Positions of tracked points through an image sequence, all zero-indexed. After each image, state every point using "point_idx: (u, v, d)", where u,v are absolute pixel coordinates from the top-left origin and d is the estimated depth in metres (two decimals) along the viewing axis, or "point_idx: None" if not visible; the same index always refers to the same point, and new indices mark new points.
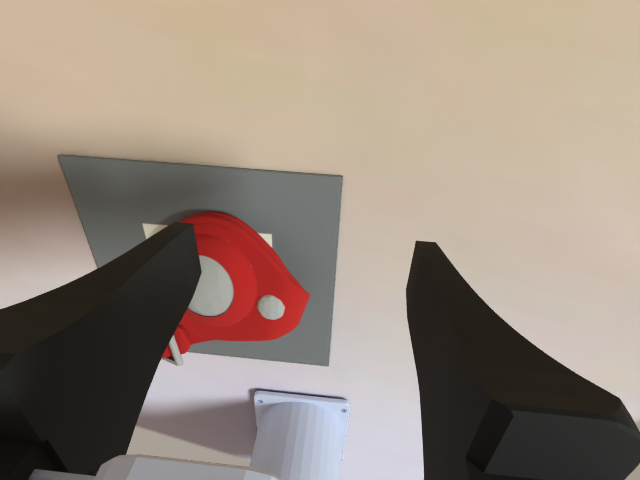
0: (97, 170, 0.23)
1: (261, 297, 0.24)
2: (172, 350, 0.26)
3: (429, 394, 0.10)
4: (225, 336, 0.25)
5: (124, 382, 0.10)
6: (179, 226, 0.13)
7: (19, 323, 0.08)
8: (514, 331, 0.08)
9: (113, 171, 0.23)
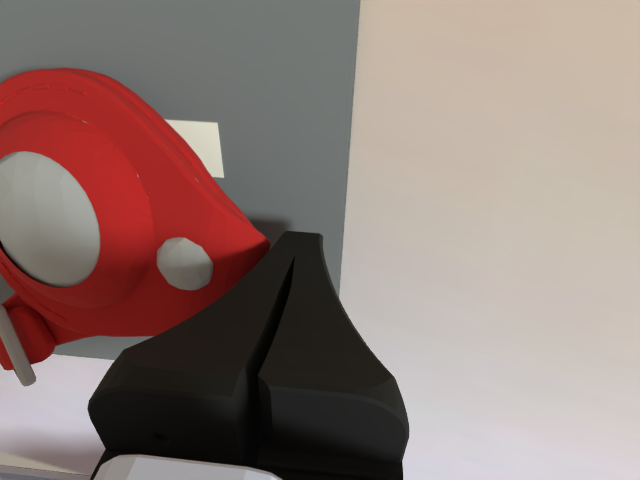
0: None
1: (163, 243, 0.11)
2: (10, 356, 0.13)
3: None
4: (107, 327, 0.13)
5: None
6: (294, 235, 0.12)
7: (207, 341, 0.07)
8: (343, 315, 0.09)
9: None
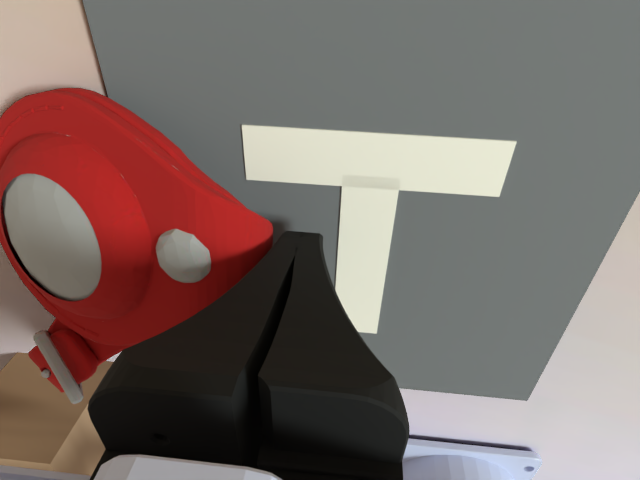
0: None
1: (158, 238, 0.11)
2: (56, 376, 0.14)
3: None
4: (132, 335, 0.13)
5: None
6: (293, 235, 0.12)
7: (207, 342, 0.07)
8: (343, 315, 0.09)
9: None
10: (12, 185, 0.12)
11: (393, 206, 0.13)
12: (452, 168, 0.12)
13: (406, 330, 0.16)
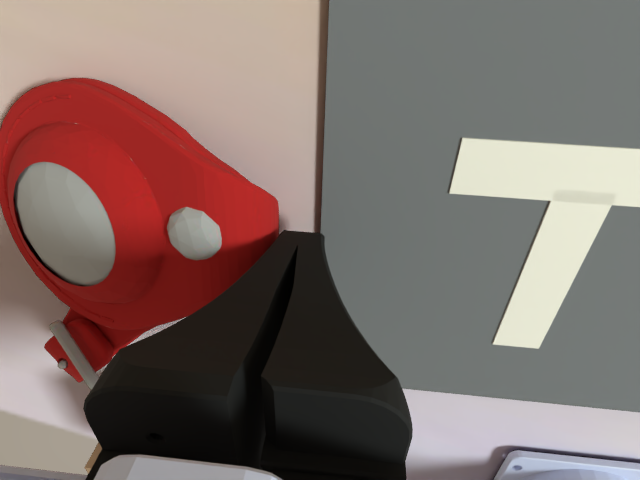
0: None
1: (169, 218, 0.12)
2: (74, 364, 0.14)
3: None
4: (147, 318, 0.13)
5: None
6: (292, 234, 0.12)
7: (203, 341, 0.07)
8: (346, 316, 0.09)
9: (455, 0, 0.10)
10: (24, 175, 0.12)
11: (599, 221, 0.13)
12: None
13: (570, 345, 0.16)
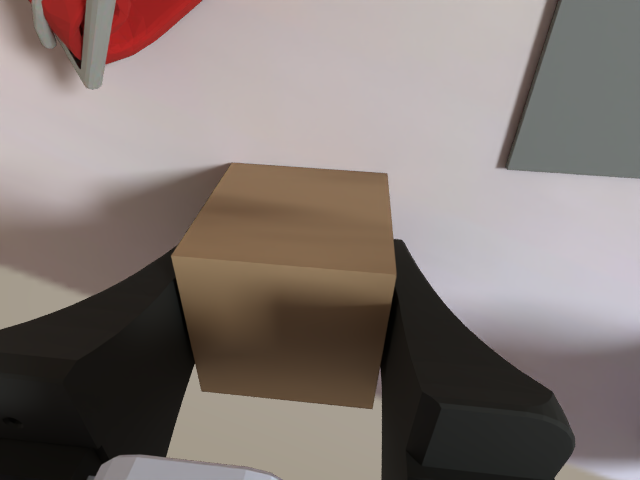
0: None
1: None
2: None
3: (387, 390, 0.10)
4: None
5: (165, 386, 0.10)
6: None
7: (72, 328, 0.08)
8: (464, 326, 0.09)
9: None
10: None
11: None
12: None
13: None
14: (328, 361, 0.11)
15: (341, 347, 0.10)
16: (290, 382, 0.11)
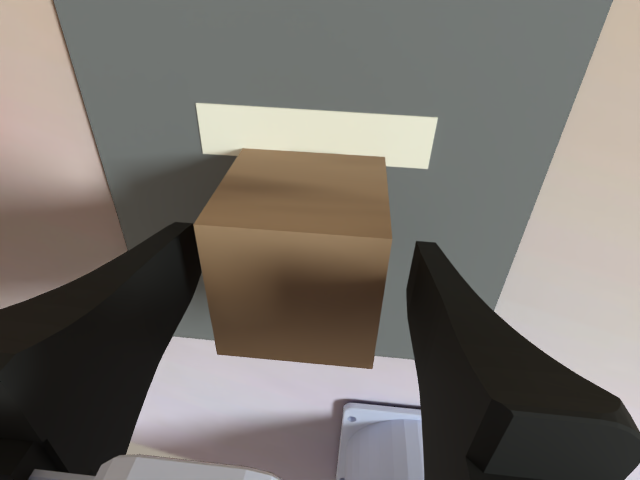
0: None
1: None
2: None
3: (429, 394, 0.10)
4: None
5: (124, 382, 0.10)
6: (179, 226, 0.13)
7: (19, 323, 0.08)
8: (514, 331, 0.08)
9: None
10: None
11: None
12: (384, 142, 0.14)
13: None
14: (332, 322, 0.12)
15: (343, 309, 0.11)
16: (298, 344, 0.13)
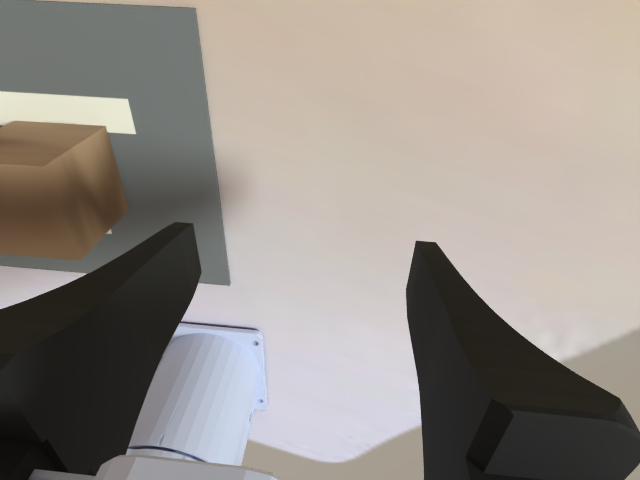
0: None
1: None
2: None
3: (429, 394, 0.10)
4: None
5: (124, 382, 0.10)
6: (179, 226, 0.13)
7: (19, 323, 0.08)
8: (514, 331, 0.08)
9: None
10: None
11: None
12: (102, 116, 0.21)
13: (129, 231, 0.25)
14: (40, 226, 0.19)
15: (41, 215, 0.19)
16: (28, 243, 0.20)
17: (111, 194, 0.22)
